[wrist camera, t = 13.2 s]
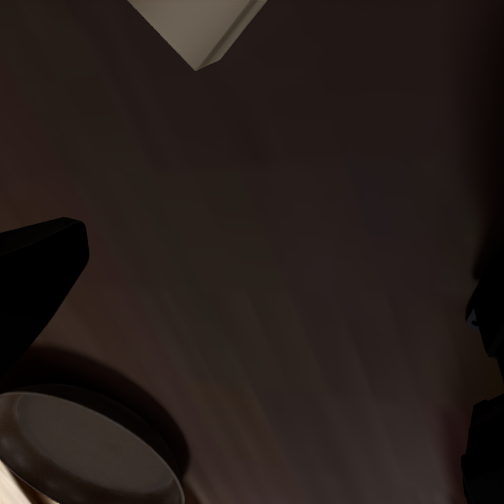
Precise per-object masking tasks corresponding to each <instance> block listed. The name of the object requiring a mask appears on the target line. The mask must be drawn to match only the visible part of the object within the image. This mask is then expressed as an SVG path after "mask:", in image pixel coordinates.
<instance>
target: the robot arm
mask: <svg viewBox="0 0 504 504" xmlns="http://www.w3.org/2000/svg"><path fill="white" fill-rule="evenodd" d="M88 260H89V247H88V239H87V232H86V226H85V224H84V223H83V222H82V221H79V220H75V219H71V218H67V217H62V218H58V219H54V220H50V221H46V222H42V223H38V224H34V225H30V226H26V227H22V228H18V229H14V230H10V231H6V232H2V233H0V382H1V381H2V380H3V379H4V377H5V376H6V375H7V374H8V372H9V371H10V370H11V369H12V368H13V366H14V365H15V364H16V363H17V361H18V360H19V359H20V358H21V356H22V355H23V354H24V353H25V351H26V350H27V349H28V348H29V347H30V345H31V344H32V343H33V342H34V340H35V339H36V338H37V337H38V335H39V334H40V333H41V332H42V330H43V329H44V328H45V327H46V325H47V324H48V323H49V321H50V320H51V319H52V317H53V316H54V314H55V313H56V311H57V310H58V308H59V307H60V305H61V304H62V302H63V301H64V299H65V297H66V296H67V294H68V293H69V291H70V290H71V288H72V287H73V285H74V284H75V282H76V280H77V279H78V277H79V276H80V274H81V273H82V271H83V270H84V268H85V267H86V265H87V263H88ZM471 300H472V305H471V307H470V309H469V311H468V312H467V314H466V317H465V319H466V323H467V326H468V327H469V328H471V329H474V330H478V331H480V333H481V337H482V341H483V344H484V348H485V351H486V353H487V354H488V356H489V357H491V358H494V359H497V362H498V365H499V368H500V372H501V375H502V378H503V382H504V248H503V250H502V252H501V254H500V255H499V257H497V258H495V259H493V260H492V261H491V262H490V264H489V266H488V268H487V269H486V271H485V273H484V275H483V277H482V278H481V280H480V282H479V284H478V286H477V288H476V289H475V291H474V293H473V295H472V297H471ZM474 319H477V321H473V320H474ZM461 470H462V474H463V486H464V494H465V497H466V499H467V503H468V504H504V394H502V395H500V396H498V397H495V398H493V399H491V400H489V401H487V400H483V401H481V402H479V403H477V404H475V405H474V406H473V412H472V418H471V424H470V428H469V434H468V443H467V449H466V454H463V455H462V456H461Z"/></svg>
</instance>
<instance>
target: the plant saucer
mask: <svg viewBox="0 0 504 504" xmlns="http://www.w3.org/2000/svg"><path fill="white" fill-rule="evenodd" d="M0 460H1V461H2V462H3V464H4V465H5V466H7V467H8V468H9V469H10V470H11V471H12V472H13V473H14V474H15V475H16V476H17V477H19V478H20V479H21V480H23V481H24V482H25V483H27V484H28V485H29V486H31V487H32V488H34V489H35V490H36V491H38V492H40V493H41V494H43V495H45V496H46V497H48V498H50V499H51V500H53V501H55V502H57V503H59V504H184V503H185V498H184V487H183V482H182V477H181V474H180V471H179V468H178V465H177V462H176V460H175V458H174V456H173V454H172V452H171V450H170V449H169V447H168V445H167V444H166V442H165V441H164V440H163V438H162V437H161V436H160V435H159V434H158V432H157V431H156V430H155V429H154V428H153V427H152V426H151V425H150V424H149V423H147V422H146V421H145V420H144V419H143V418H141V417H140V416H139V415H138V414H136V413H135V412H133V411H132V410H130V409H129V408H127V407H126V406H124V405H122V404H121V403H119V402H117V401H115V400H113V399H111V398H109V397H107V396H105V395H102V394H100V393H97V392H95V391H92V390H89V389H85V388H81V387H78V386H72V385H66V384H37V385H30V386H24V387H20V388H16V389H13V390H9V391H6V392H4V393H1V394H0Z"/></svg>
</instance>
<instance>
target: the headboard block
mask: <svg viewBox="0 0 504 504" xmlns="http://www.w3.org/2000/svg"><path fill="white" fill-rule="evenodd" d="M128 1H129V2H130V3H131V4H132V5H133V6H134V7H135V8H136V9H137V11H138V12H139V13H140V14H141V15H142V16H143V17H144V18H145V19H146V20H147V21H148V22H149V23H150V24H151V25H152V26H153V27H154V28H155V29H156V30H157V31H158V32H159V33H160V35H161V36H162V37H163V38H164V39H165V40H166V41H167V42H168V43H169V44H170V45H171V46H172V47H173V48H174V49H175V50H176V51H177V52H178V53H179V54H180V55H181V56H182V58H183V59H184V60H185V61H186V62H187V63H188V64H189V65H190V66H191V67H192V68H193V69H194V70H195V71H196V70H199V69H201V68H203V67H205V66H207V65H209V64H212V63H214V62H216V61H218V60H220V59H221V58H222V57H223V55H224V54H225V53H226V52H227V50H228V49H229V48H230V47H231V45H232V44H233V43H234V41H235V40H236V39H237V38H238V36H239V35H240V34H241V33H242V31H243V30H244V29H245V28H246V26H247V25H248V24H249V23H250V21H251V20H252V19H253V18H254V16H255V15H256V14H257V13H258V11H259V10H260V9H261V8H262V6H263V5H264V4H265V3H266V1H267V0H128Z"/></svg>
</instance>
